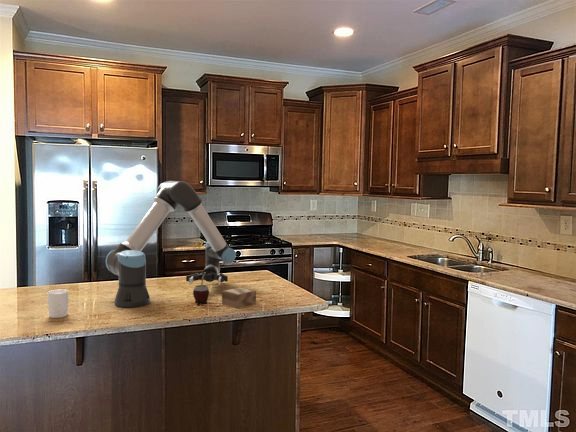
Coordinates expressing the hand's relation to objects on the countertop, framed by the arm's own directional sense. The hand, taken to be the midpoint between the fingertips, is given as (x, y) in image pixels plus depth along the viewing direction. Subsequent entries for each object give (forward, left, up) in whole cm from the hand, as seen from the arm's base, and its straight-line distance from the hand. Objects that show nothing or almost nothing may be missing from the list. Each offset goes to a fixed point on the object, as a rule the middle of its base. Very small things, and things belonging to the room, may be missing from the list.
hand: (204, 282), depth 220 cm
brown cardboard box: (+5, -18, -8) cm, 21 cm away
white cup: (-60, +19, -8) cm, 63 cm away
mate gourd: (-7, -6, -8) cm, 12 cm away
